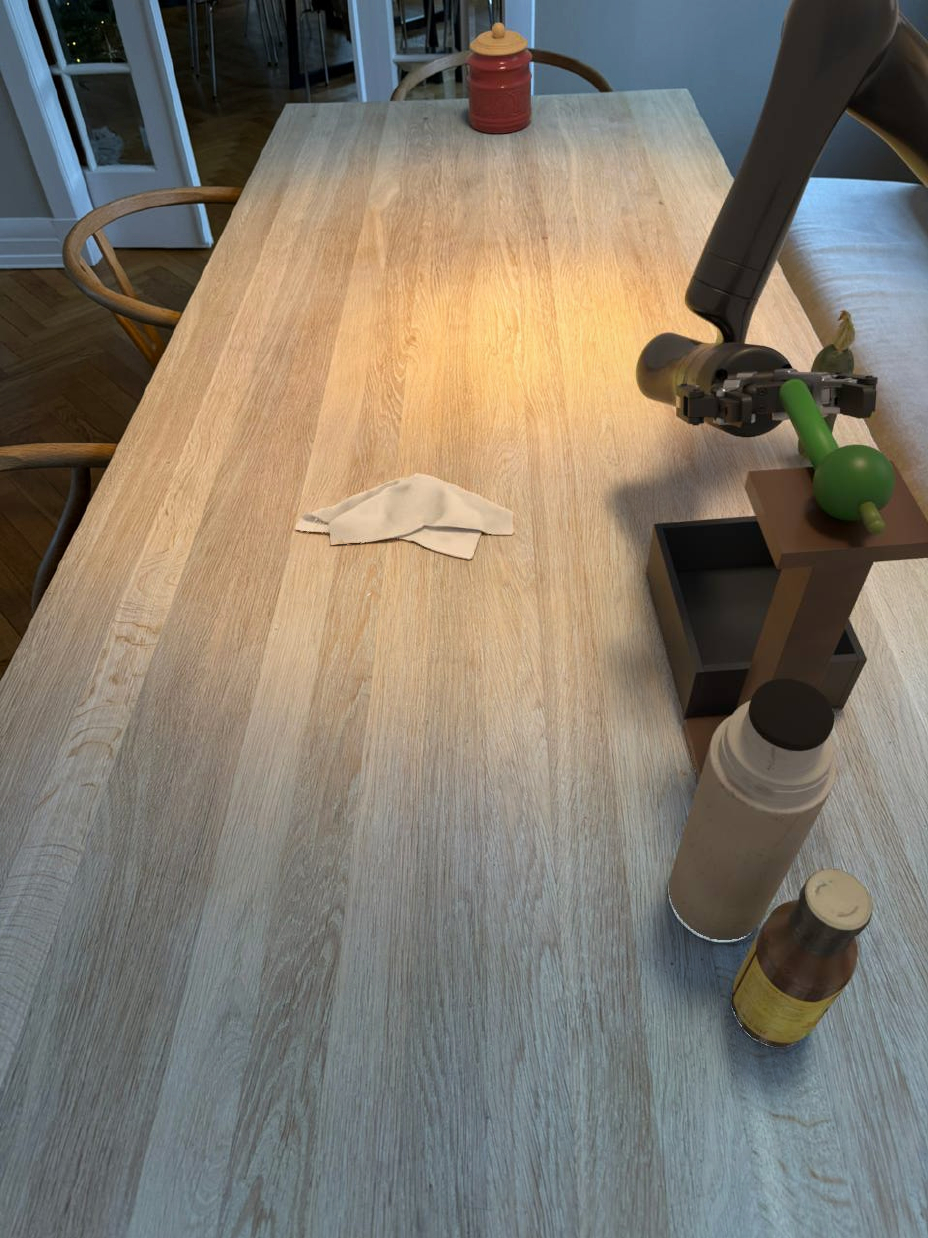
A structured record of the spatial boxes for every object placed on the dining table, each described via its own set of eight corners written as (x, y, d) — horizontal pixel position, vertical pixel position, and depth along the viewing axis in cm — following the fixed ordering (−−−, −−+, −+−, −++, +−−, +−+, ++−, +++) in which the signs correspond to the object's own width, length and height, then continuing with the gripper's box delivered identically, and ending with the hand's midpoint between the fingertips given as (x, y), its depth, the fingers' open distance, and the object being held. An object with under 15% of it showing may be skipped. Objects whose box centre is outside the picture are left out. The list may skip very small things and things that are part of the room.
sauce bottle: (814, 1057, 66) (903, 965, 51) (729, 1044, 67) (790, 950, 52) (807, 970, 70) (886, 861, 55) (726, 959, 71) (782, 848, 56)
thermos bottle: (700, 835, 78) (766, 635, 56) (782, 891, 74) (886, 700, 53) (648, 901, 74) (699, 714, 53) (732, 964, 70) (823, 791, 49)
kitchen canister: (502, 104, 188) (501, 7, 174) (544, 120, 181) (546, 21, 168) (456, 122, 183) (450, 24, 169) (497, 140, 176) (495, 38, 162)
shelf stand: (786, 718, 85) (892, 459, 61) (812, 792, 80) (939, 541, 56) (683, 726, 85) (748, 470, 61) (702, 800, 80) (782, 553, 56)
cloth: (525, 488, 109) (525, 474, 107) (504, 568, 100) (504, 554, 98) (325, 466, 113) (322, 452, 111) (289, 540, 105) (285, 526, 103)
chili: (818, 393, 66) (835, 336, 62) (905, 556, 55) (932, 499, 51) (754, 398, 66) (768, 342, 62) (828, 562, 55) (850, 505, 51)
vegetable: (823, 475, 107) (873, 328, 92) (786, 472, 108) (829, 326, 93) (819, 451, 110) (867, 305, 95) (783, 449, 111) (825, 303, 96)
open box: (784, 563, 98) (801, 511, 92) (843, 708, 86) (867, 659, 80) (645, 574, 98) (653, 523, 92) (683, 720, 86) (695, 672, 80)
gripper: (655, 349, 76) (708, 360, 61) (819, 336, 76) (914, 344, 61) (655, 437, 79) (706, 468, 63) (814, 424, 79) (903, 453, 63)
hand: (807, 407), depth 62 cm, fingers open, 8 cm apart
